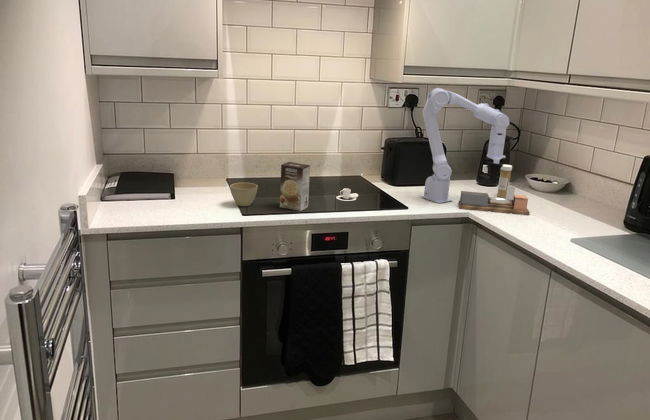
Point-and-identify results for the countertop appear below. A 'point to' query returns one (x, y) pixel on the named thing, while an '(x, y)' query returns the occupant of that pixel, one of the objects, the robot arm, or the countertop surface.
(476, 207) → the walnut board
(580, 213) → the countertop surface
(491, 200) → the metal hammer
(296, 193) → the coffee box
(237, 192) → the bowl
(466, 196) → the sleeve
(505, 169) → the sprinkles bottle
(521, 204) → the socket
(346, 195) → the teacup and saucer
